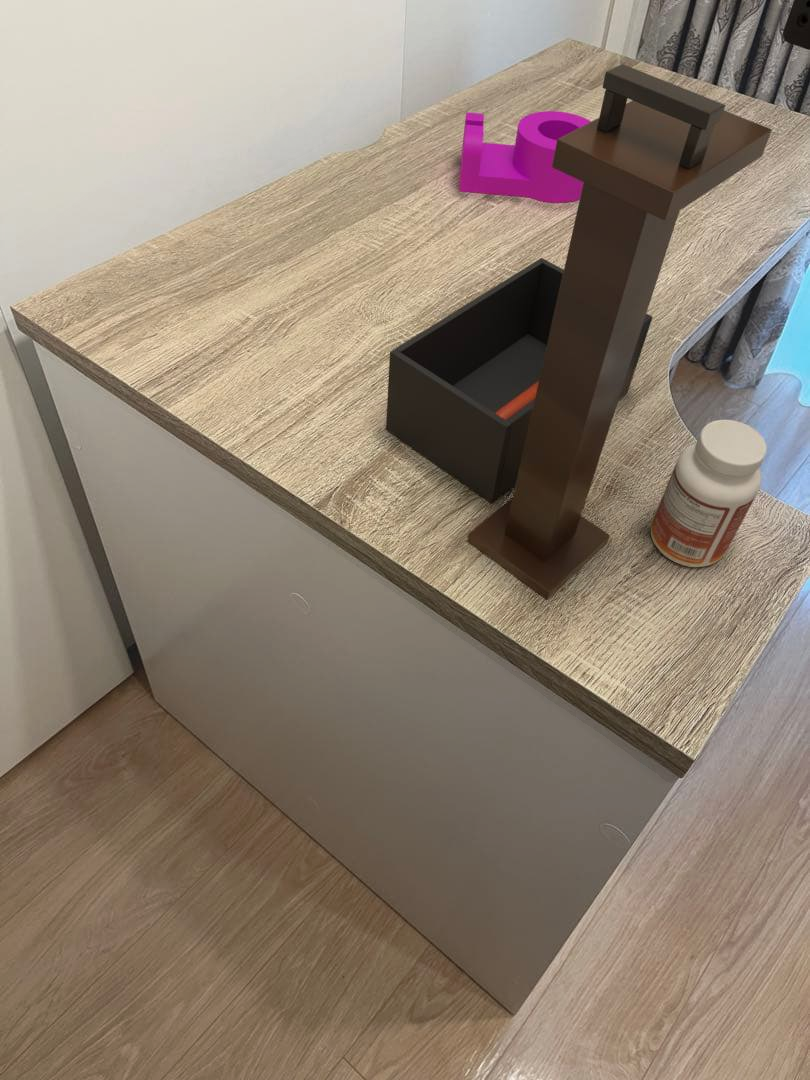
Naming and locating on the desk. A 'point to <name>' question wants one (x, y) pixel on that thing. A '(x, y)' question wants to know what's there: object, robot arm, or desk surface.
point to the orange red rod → (518, 402)
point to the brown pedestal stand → (606, 303)
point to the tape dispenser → (520, 159)
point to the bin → (479, 380)
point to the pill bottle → (709, 494)
